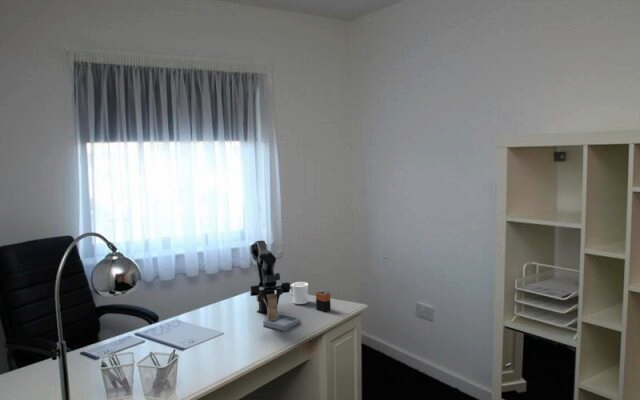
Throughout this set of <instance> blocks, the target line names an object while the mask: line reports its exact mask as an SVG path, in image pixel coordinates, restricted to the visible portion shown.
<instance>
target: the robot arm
mask: <svg viewBox="0 0 640 400" xmlns="http://www.w3.org/2000/svg"><path fill="white" fill-rule="evenodd" d="M250 255H251V257H252V259H253V260H254V261H255V263H256V267H257V268H256V269H257V275H258V281H259V282H258V284H256V285H253V284H252V285H251V286H250V289H249V294H250V297H255V298H256V301H257V303H258V310H256V312H257V313H259V314H264V315H267V306H268V301H267V294H276V296H277V306H279V300H280V296H281V295H283V294H286V293H290V290H291V288H292V286H290V285H291V283H290V282H289V281H288V282H281V284H280V285H277V284H278V283H277V281H280V280H281V275H280V272H277V273H275V270H274V269H275V266H276V261H277V257H275V255H274V254H273V252H272V251H271V250H269V249H268V247H267V243H266V241H265V240H256V241H255V242H254V243H252V244H251V245H250Z"/></svg>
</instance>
